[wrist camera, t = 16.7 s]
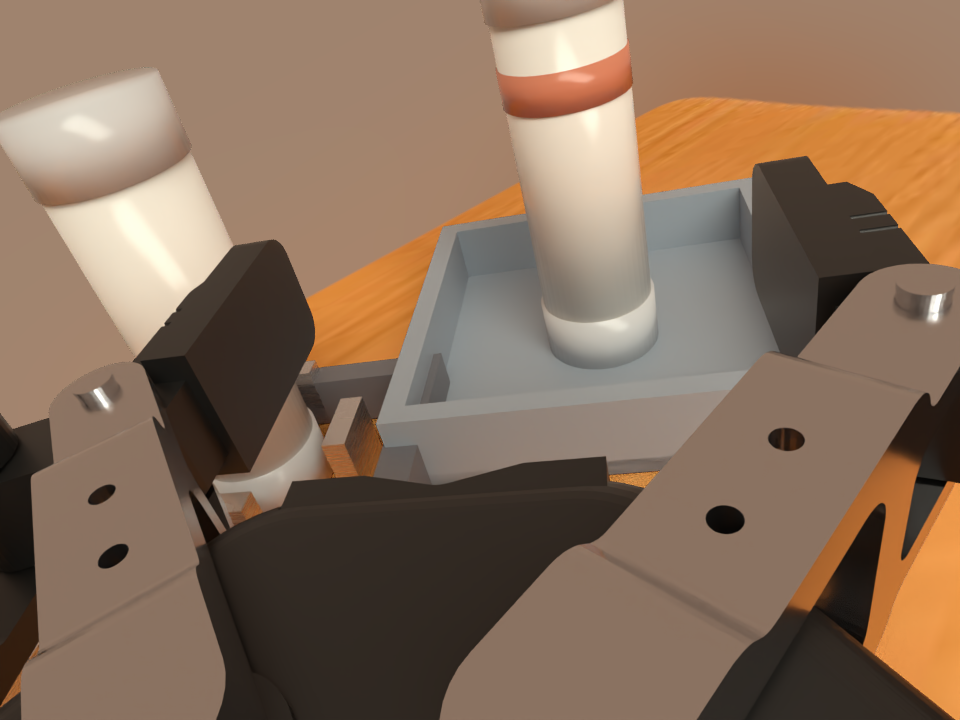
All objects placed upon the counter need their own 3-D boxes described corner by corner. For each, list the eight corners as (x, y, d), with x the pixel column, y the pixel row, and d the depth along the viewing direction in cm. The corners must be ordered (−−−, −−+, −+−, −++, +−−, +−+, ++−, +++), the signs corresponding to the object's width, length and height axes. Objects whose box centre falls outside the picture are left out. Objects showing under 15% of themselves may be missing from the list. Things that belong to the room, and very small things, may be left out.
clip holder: (-151, 919, 17) (-234, 877, 15) (180, 423, 31) (152, 377, 29) (330, 954, 14) (283, 909, 13) (453, 394, 28) (438, 342, 27)
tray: (402, 490, 24) (375, 424, 23) (457, 281, 35) (442, 226, 34) (848, 456, 21) (856, 377, 20) (755, 239, 32) (755, 177, 31)
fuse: (202, 526, 25) (-51, 137, 17) (249, 442, 28) (56, 84, 20) (312, 523, 24) (100, 108, 16) (347, 437, 27) (186, 57, 19)
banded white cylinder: (548, 375, 27) (460, -44, 19) (550, 314, 30) (477, -63, 22) (664, 361, 26) (622, -83, 18) (653, 300, 29) (614, -97, 21)
